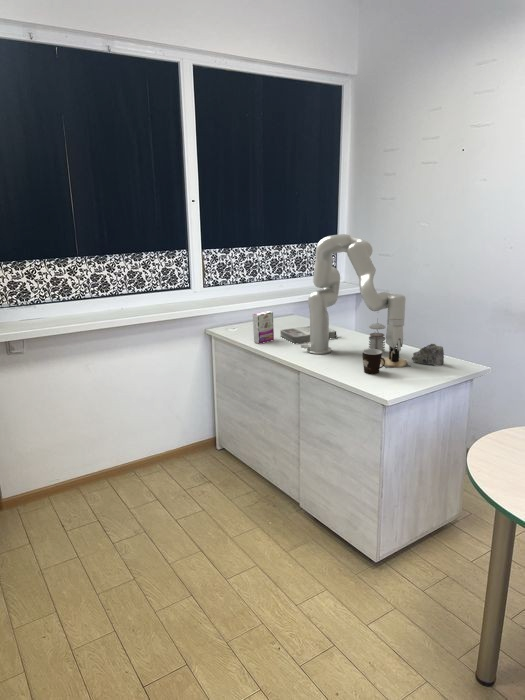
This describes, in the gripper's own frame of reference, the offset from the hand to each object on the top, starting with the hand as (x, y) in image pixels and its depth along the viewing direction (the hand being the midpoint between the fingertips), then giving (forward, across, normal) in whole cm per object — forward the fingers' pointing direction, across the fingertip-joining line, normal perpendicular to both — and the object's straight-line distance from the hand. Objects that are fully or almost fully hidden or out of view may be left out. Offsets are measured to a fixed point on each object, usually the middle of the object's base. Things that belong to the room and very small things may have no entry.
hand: (393, 360), depth 234 cm
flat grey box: (+3, -58, -29) cm, 65 cm away
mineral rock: (+3, +2, +16) cm, 17 cm away
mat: (+2, 0, 0) cm, 2 cm away
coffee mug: (+2, +12, -14) cm, 18 cm away
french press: (+2, -19, -2) cm, 19 cm away
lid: (+2, 0, 0) cm, 2 cm away
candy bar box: (+3, -54, -55) cm, 77 cm away
